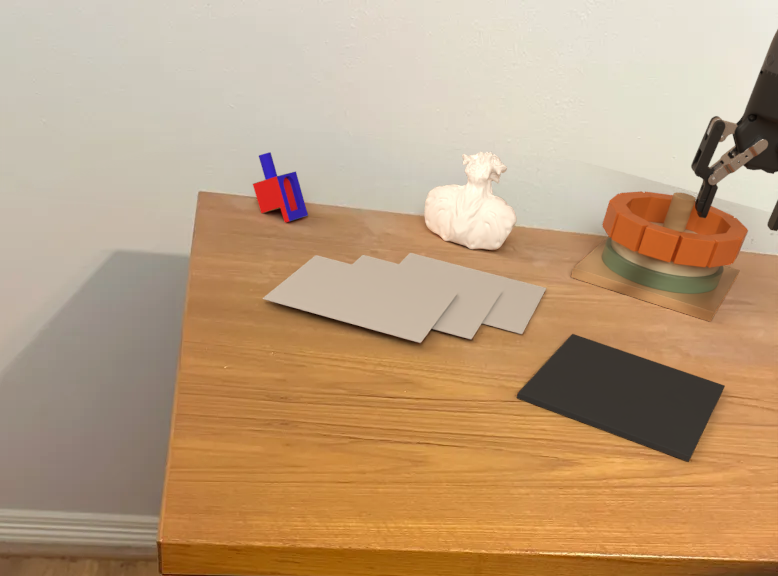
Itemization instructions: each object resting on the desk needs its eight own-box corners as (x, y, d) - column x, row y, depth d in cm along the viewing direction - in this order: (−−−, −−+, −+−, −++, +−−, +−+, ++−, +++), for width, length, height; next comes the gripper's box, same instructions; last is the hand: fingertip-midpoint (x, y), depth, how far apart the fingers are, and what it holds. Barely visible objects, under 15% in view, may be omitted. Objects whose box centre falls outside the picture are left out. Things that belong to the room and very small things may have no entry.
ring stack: (736, 279, 110) (768, 199, 104) (710, 322, 98) (745, 235, 92) (609, 240, 115) (633, 163, 109) (570, 277, 103) (594, 192, 97)
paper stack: (345, 235, 104) (345, 230, 103) (546, 288, 99) (547, 282, 99) (261, 304, 86) (262, 298, 86) (502, 372, 81) (504, 365, 81)
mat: (722, 390, 85) (725, 385, 85) (688, 462, 73) (691, 456, 73) (570, 338, 90) (572, 333, 89) (516, 398, 78) (517, 392, 78)
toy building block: (284, 221, 109) (265, 155, 106) (308, 215, 107) (289, 146, 104) (265, 227, 107) (245, 159, 104) (289, 221, 104) (269, 151, 101)
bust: (506, 269, 108) (542, 185, 108) (497, 246, 101) (535, 155, 100) (421, 242, 112) (455, 160, 111) (406, 218, 105) (443, 130, 104)
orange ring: (746, 242, 107) (756, 217, 105) (723, 279, 96) (733, 252, 94) (623, 206, 112) (631, 182, 110) (587, 237, 100) (594, 212, 99)
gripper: (852, 75, 95) (786, 222, 105) (725, 52, 94) (672, 201, 105) (876, 90, 89) (803, 244, 99) (741, 65, 89) (682, 222, 99)
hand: (736, 222), depth 102 cm, fingers open, 8 cm apart
